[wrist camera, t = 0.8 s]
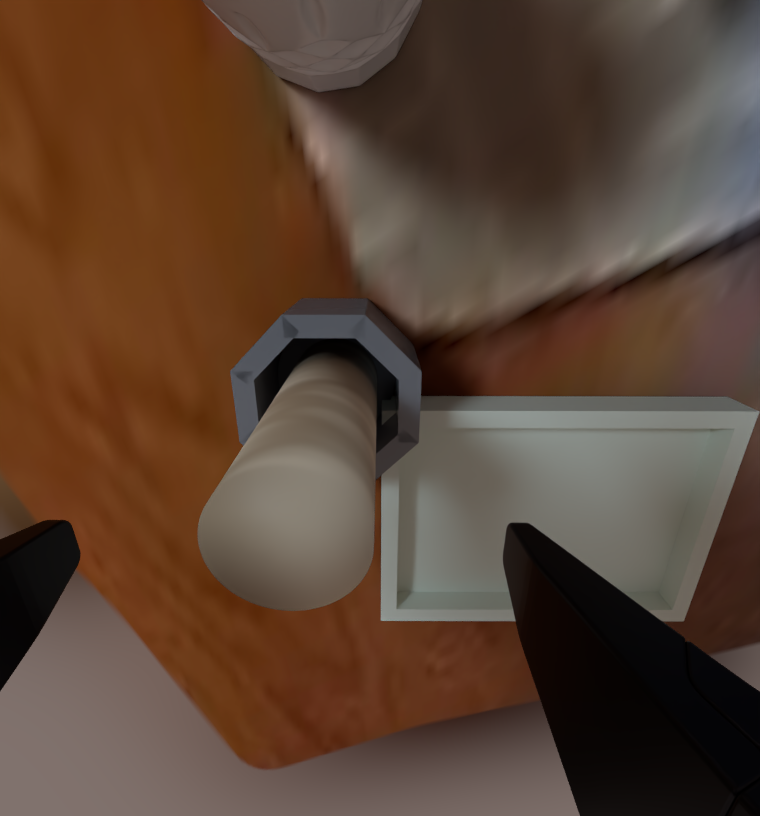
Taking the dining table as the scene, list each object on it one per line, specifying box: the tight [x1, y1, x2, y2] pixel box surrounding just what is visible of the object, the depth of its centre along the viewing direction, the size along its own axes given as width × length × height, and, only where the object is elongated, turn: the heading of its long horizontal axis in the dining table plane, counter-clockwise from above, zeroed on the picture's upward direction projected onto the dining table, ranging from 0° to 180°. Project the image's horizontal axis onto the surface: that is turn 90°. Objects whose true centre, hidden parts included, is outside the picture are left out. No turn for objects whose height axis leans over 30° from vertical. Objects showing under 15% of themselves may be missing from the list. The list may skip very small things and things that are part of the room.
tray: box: [381, 396, 759, 621], centre depth 21 cm, size 16×12×2 cm
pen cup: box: [230, 298, 422, 480], centre depth 18 cm, size 7×7×4 cm
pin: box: [198, 338, 377, 611], centre depth 14 cm, size 4×4×11 cm
